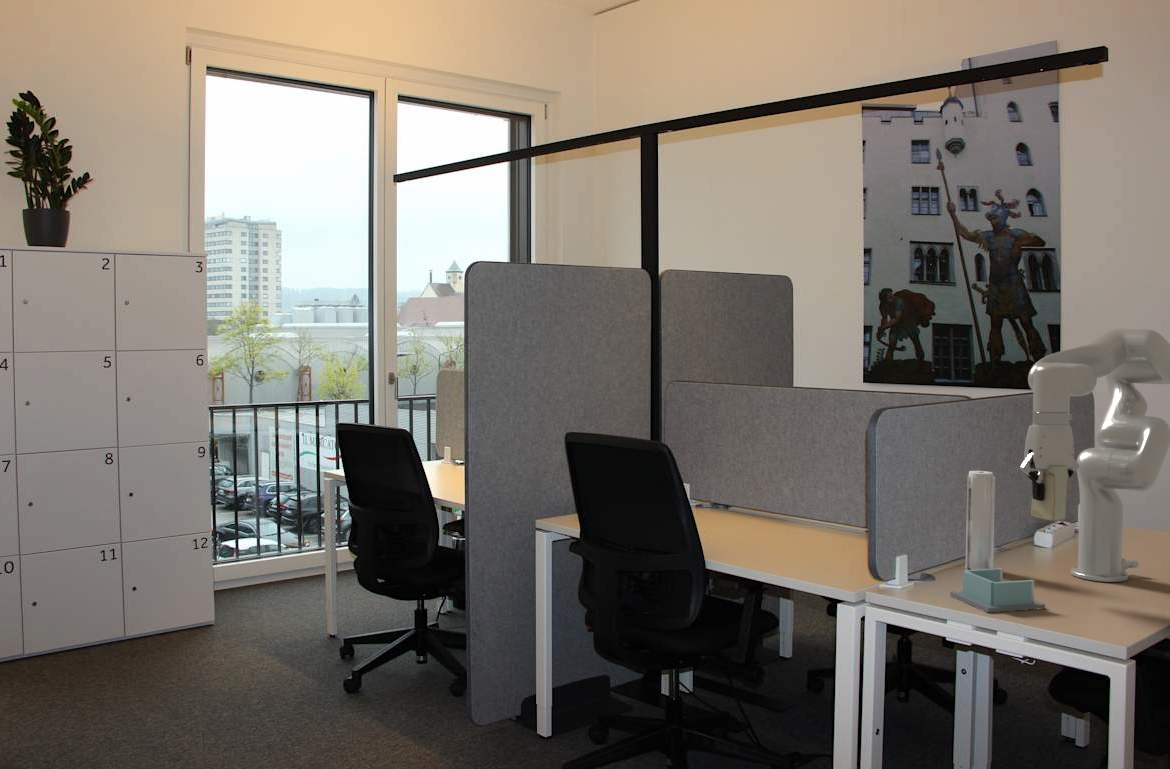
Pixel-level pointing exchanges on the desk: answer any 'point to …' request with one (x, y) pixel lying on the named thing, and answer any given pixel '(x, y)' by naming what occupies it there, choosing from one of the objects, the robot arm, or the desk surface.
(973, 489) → the tall white box
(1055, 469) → the skincare box
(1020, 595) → the holder
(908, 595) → the desk surface
